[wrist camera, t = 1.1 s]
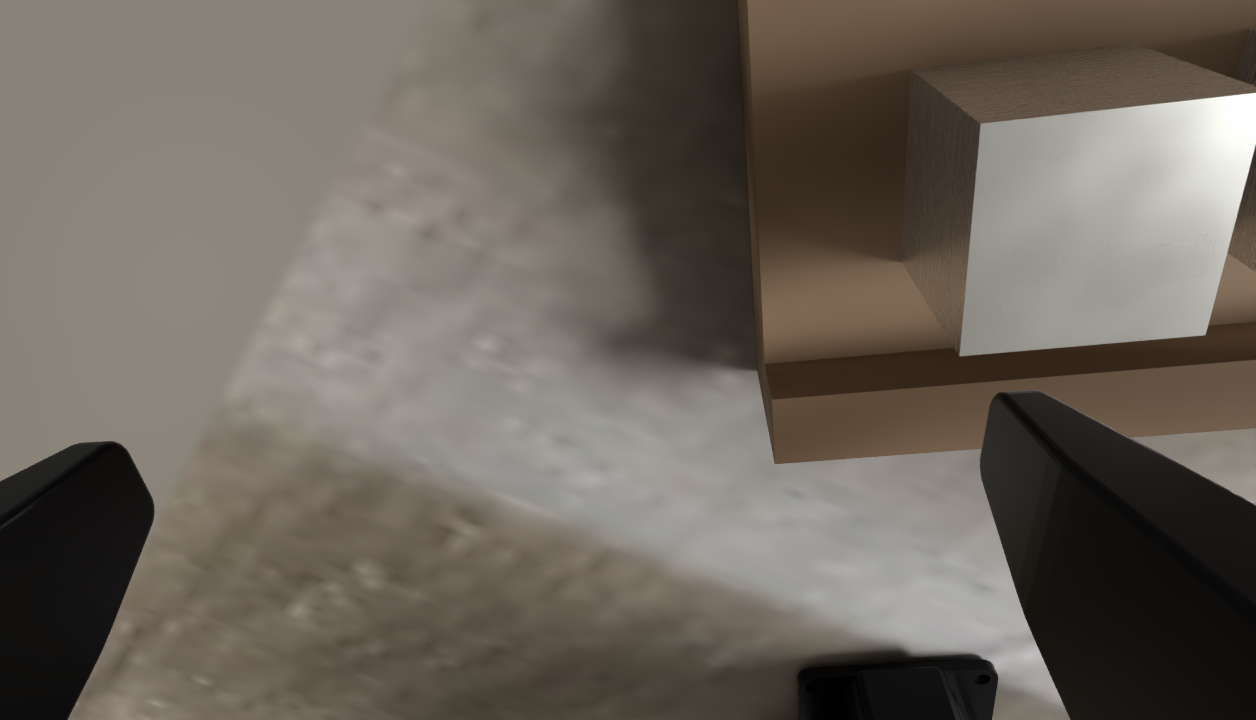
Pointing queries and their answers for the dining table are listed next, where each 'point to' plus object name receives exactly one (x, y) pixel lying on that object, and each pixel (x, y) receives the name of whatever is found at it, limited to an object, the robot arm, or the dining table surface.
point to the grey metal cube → (1252, 229)
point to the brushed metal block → (1073, 196)
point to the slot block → (873, 232)
